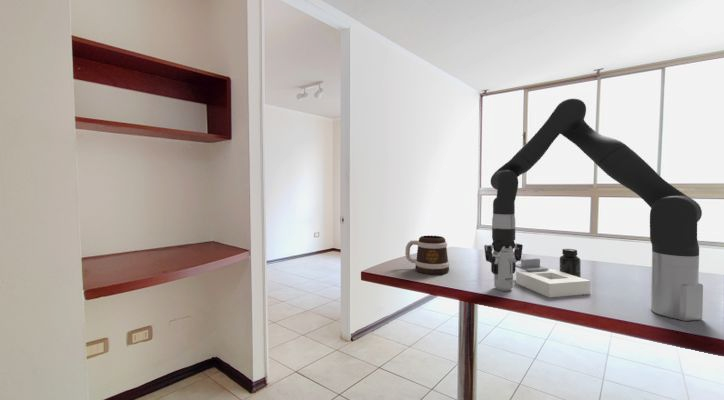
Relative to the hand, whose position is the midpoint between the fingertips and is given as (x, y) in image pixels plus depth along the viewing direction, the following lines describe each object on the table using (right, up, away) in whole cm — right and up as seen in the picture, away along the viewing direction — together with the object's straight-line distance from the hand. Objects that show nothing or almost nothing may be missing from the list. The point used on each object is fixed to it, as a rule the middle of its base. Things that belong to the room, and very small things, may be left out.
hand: (503, 273), depth 109 cm
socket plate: (+17, -5, 0) cm, 18 cm away
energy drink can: (0, -6, 0) cm, 6 cm away
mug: (-22, -5, +27) cm, 35 cm away
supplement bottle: (+31, -5, +10) cm, 33 cm away
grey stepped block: (+15, 0, +10) cm, 18 cm away
